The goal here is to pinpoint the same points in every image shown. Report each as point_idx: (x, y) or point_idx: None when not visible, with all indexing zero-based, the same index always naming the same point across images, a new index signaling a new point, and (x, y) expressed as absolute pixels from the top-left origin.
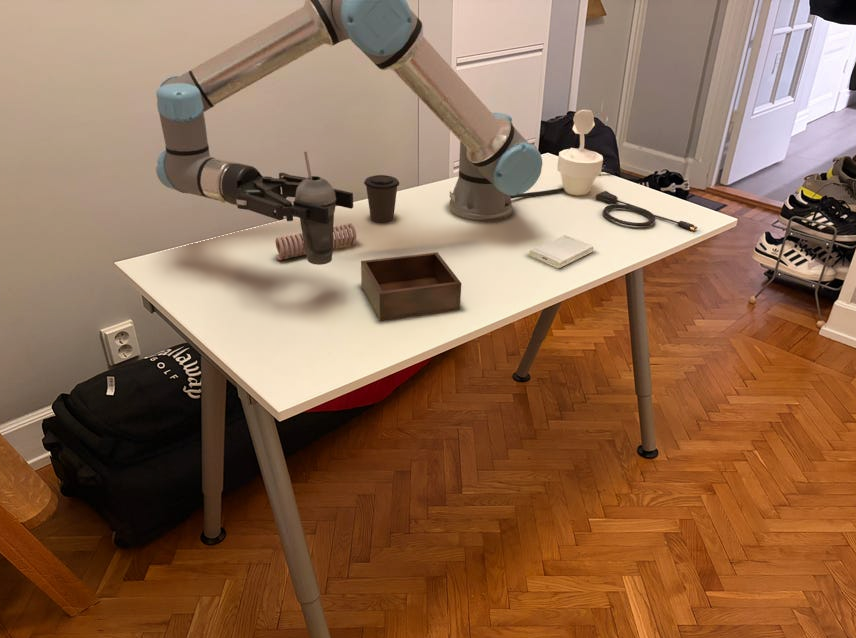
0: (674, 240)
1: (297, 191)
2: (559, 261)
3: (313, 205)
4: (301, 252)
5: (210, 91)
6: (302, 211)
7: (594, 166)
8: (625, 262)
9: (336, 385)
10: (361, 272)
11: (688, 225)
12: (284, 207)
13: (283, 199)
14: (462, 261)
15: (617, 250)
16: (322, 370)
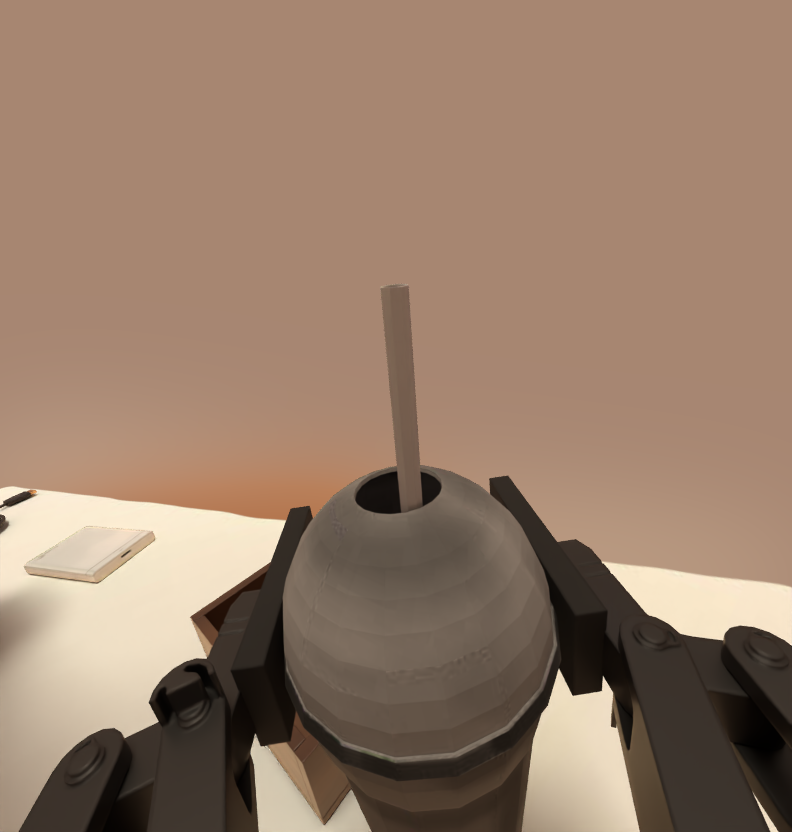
0: (62, 497)
1: (530, 601)
2: (147, 532)
3: (525, 514)
4: None
5: None
6: (591, 553)
7: None
8: (132, 504)
9: (665, 569)
10: (316, 785)
11: (24, 493)
12: (698, 647)
13: (671, 722)
14: (113, 666)
15: (87, 520)
16: (675, 611)
